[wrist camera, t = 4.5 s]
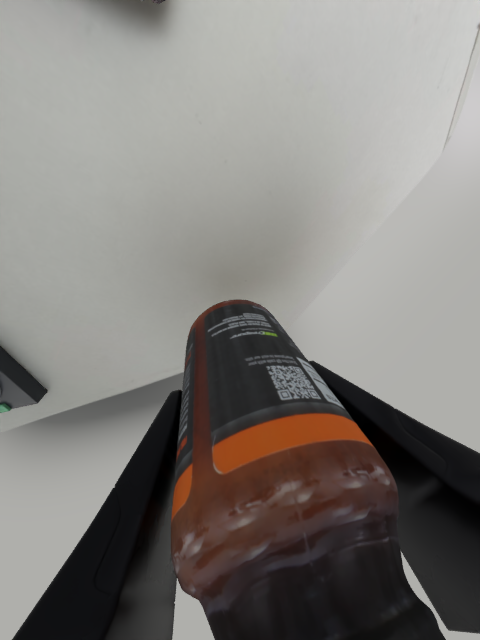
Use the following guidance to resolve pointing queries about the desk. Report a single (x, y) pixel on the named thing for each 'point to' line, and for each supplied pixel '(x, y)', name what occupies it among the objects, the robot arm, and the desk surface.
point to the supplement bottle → (282, 496)
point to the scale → (17, 385)
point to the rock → (157, 1)
